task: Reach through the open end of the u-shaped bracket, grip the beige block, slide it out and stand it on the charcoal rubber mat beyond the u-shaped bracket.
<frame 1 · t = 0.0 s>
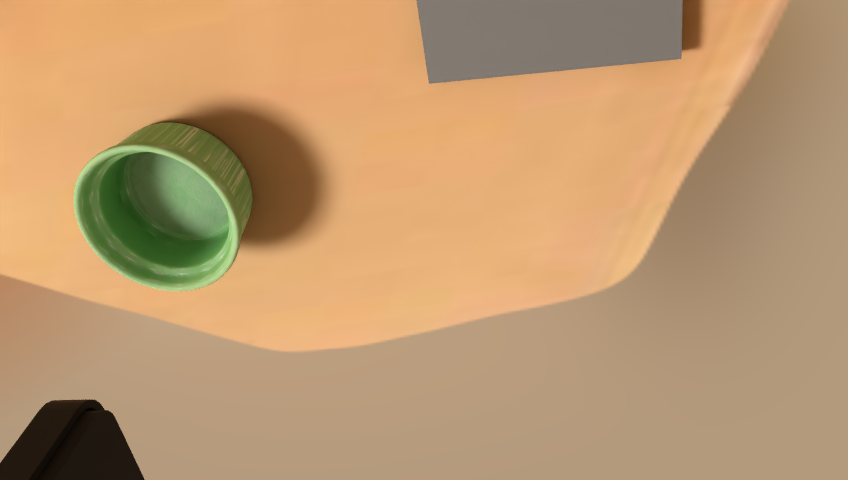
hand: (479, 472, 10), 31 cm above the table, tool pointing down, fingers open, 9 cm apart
ramekin: (188, 182, 46), on the table
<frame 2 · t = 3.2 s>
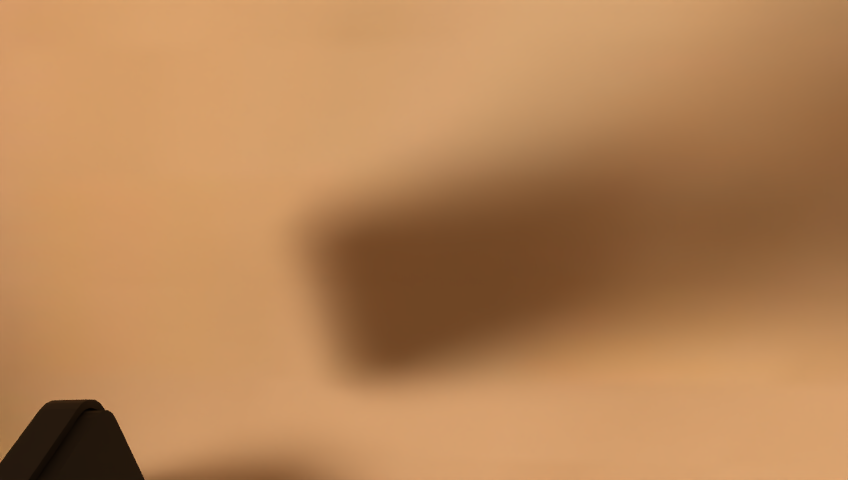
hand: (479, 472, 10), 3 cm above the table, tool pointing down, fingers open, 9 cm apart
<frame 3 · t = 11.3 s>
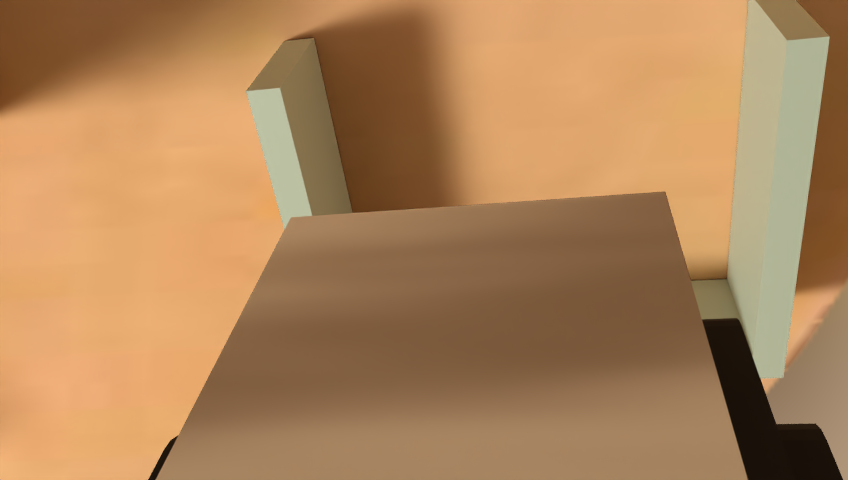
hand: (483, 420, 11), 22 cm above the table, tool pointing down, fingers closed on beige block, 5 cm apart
u-shaped bracket: (533, 178, 33), on the table
beige block: (489, 350, 12), point 20 cm above the table, touching gripper
when the fingers open (4 cm above the table, at t = 16.5 s): beige block drops 1 cm, resting on charcoal mat.
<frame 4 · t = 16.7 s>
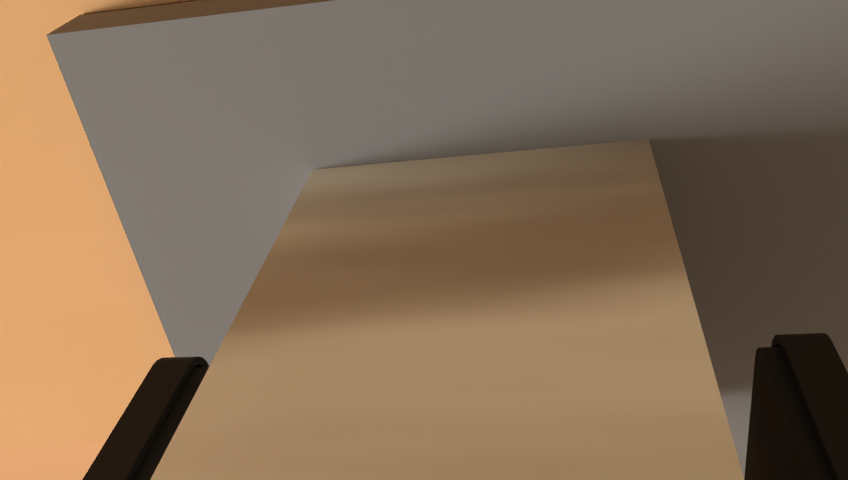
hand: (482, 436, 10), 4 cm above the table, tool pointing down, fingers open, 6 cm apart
charcoal mat: (496, 260, 14), on the table
beige block: (492, 292, 13), point 1 cm above the table, touching charcoal mat
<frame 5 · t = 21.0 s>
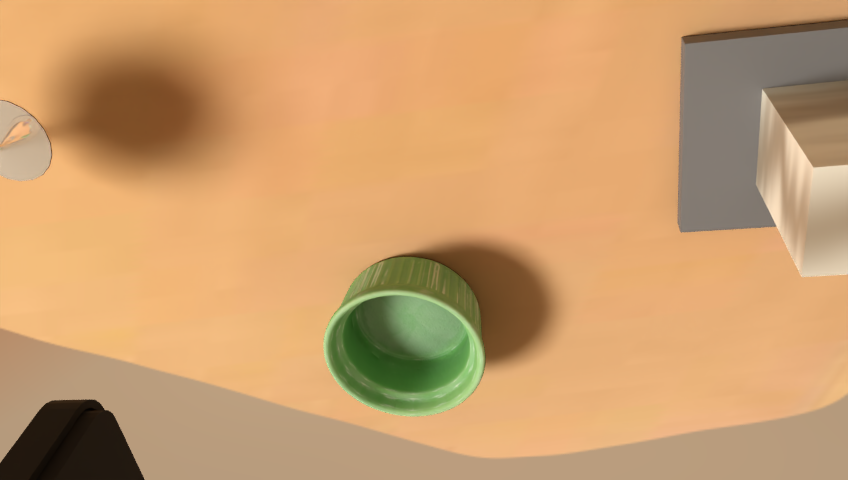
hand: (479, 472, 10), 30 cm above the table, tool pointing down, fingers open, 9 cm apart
charcoal mat: (809, 125, 38), on the table
ramekin: (414, 307, 47), on the table
wineglass: (9, 139, 44), on the table
beige block: (815, 133, 37), point 1 cm above the table, touching charcoal mat
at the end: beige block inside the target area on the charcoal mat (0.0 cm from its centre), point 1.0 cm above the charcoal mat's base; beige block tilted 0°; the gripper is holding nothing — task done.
